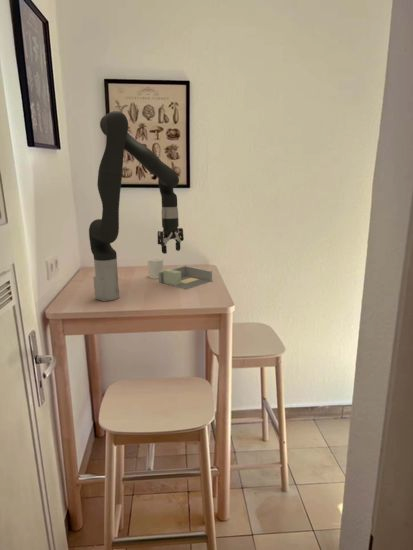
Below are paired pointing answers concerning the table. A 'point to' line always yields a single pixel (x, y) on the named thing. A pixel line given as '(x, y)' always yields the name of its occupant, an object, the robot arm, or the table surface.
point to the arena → (190, 277)
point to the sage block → (172, 277)
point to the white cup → (155, 267)
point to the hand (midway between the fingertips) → (171, 251)
